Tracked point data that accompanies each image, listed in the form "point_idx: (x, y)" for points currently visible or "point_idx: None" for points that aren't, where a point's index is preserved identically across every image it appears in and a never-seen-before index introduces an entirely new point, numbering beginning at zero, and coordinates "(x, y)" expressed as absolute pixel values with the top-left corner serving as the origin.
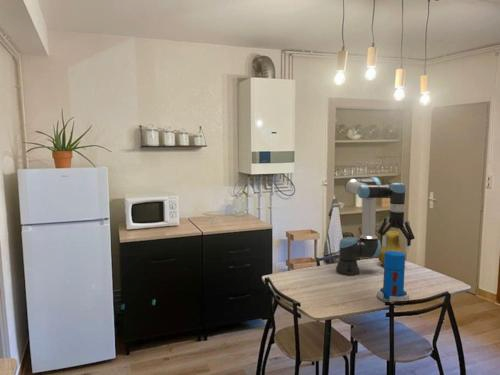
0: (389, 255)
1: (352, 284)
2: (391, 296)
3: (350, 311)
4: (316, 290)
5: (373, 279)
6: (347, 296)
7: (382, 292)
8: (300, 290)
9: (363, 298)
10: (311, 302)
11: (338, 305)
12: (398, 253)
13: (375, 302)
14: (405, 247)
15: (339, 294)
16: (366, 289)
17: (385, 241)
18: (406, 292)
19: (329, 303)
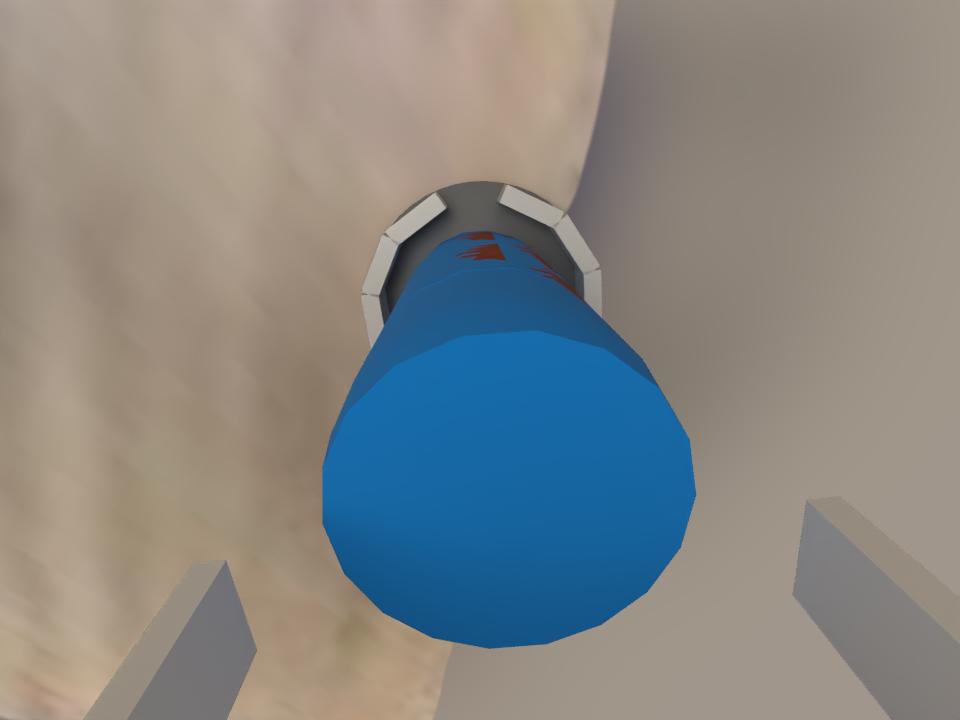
0: (511, 639)
1: (115, 318)
2: None
3: None
4: (124, 584)
5: (70, 41)
6: (294, 508)
7: (387, 303)
8: (88, 649)
9: None
10: (269, 694)
11: (370, 624)
12: (551, 455)
13: None
14: (876, 689)
15: (243, 523)
16: (252, 313)
17: (161, 706)
18: (552, 227)
19: (325, 641)
